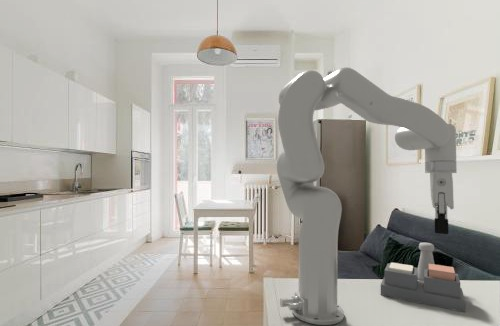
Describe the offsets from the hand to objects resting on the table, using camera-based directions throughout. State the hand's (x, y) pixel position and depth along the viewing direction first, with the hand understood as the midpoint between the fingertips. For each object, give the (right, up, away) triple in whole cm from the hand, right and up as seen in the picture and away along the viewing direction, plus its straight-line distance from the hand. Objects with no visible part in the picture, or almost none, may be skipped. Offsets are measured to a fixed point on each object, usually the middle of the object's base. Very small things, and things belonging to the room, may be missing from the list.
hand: (441, 233), depth 84 cm
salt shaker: (+3, -19, +12) cm, 23 cm away
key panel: (-5, -19, +2) cm, 19 cm away
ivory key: (-9, -15, +5) cm, 18 cm away
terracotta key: (0, -13, -1) cm, 13 cm away
